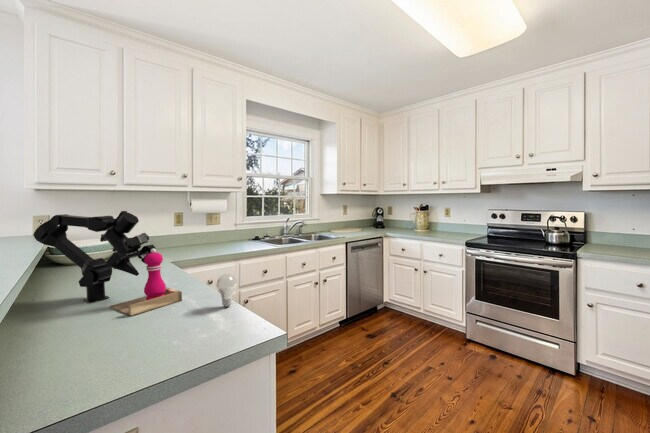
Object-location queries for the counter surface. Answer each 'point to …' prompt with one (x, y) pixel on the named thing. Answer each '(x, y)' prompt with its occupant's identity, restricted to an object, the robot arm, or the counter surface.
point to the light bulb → (226, 288)
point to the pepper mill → (154, 276)
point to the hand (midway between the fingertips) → (147, 271)
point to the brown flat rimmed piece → (148, 303)
